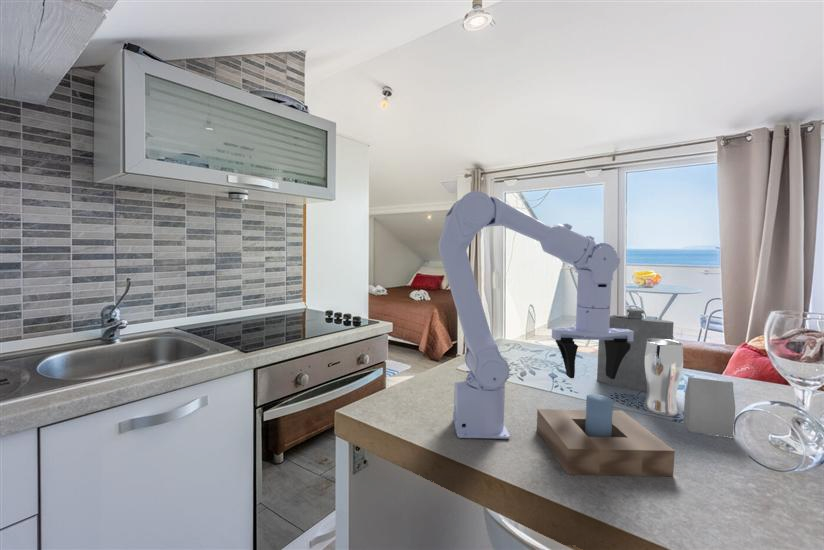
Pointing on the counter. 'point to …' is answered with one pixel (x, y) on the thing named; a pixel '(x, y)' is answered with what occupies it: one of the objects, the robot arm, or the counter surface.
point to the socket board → (604, 445)
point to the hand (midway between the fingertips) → (590, 377)
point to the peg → (598, 416)
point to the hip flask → (633, 348)
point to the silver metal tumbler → (662, 375)
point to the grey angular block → (709, 407)
